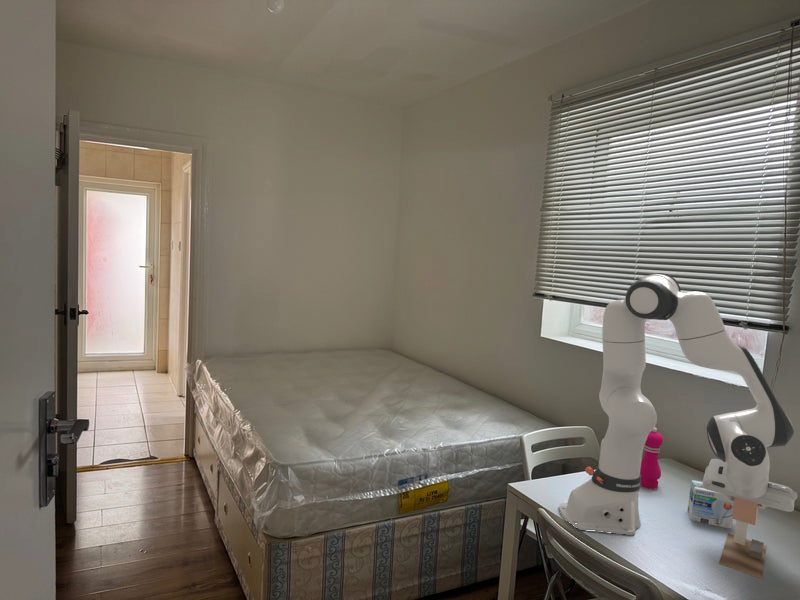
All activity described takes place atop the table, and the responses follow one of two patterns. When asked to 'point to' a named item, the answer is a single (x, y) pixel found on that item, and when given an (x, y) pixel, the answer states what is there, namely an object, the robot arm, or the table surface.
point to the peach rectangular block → (745, 511)
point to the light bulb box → (709, 506)
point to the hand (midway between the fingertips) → (746, 502)
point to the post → (740, 532)
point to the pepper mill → (651, 460)
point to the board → (744, 556)
